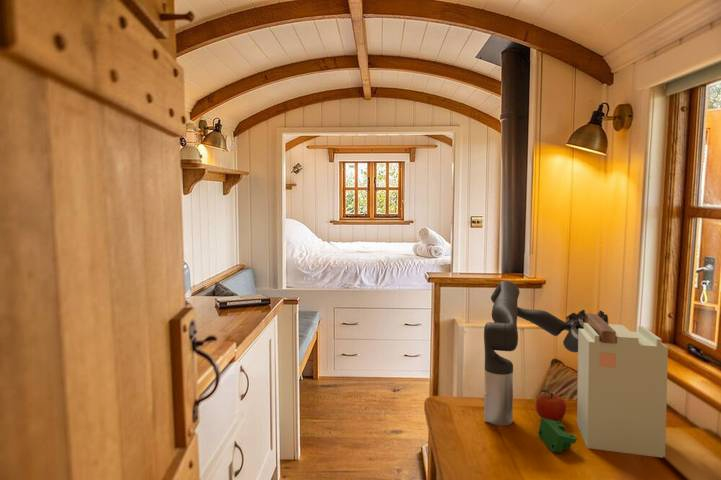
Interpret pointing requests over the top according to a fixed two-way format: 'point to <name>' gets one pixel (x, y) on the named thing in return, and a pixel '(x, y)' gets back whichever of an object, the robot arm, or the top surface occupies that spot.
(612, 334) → the walnut bar
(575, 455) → the top surface
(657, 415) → the rail stand
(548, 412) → the fruit
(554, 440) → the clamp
